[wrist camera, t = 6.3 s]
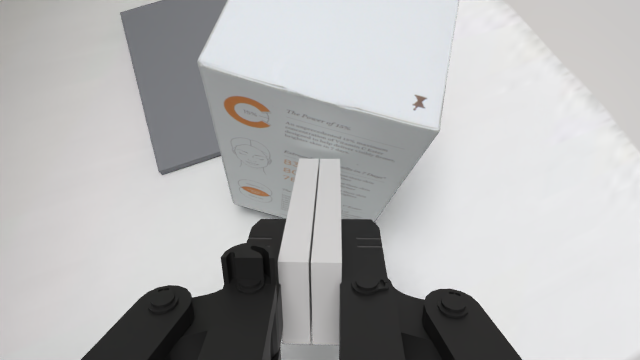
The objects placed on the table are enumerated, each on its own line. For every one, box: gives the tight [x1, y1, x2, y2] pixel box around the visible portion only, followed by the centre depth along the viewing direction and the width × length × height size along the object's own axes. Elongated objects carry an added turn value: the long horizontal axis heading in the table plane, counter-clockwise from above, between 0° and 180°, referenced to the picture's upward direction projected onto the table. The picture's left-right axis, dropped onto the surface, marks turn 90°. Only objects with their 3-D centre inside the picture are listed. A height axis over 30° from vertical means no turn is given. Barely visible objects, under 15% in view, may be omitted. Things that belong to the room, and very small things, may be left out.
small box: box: [197, 0, 459, 222], centre depth 20 cm, size 8×6×13 cm
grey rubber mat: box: [120, 0, 227, 175], centre depth 30 cm, size 13×18×1 cm
